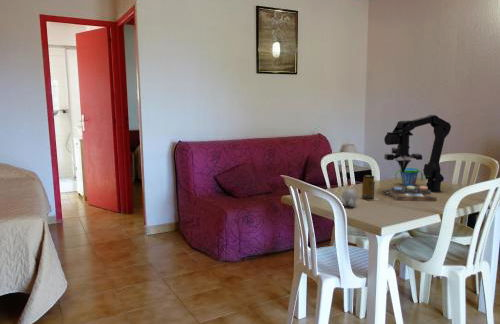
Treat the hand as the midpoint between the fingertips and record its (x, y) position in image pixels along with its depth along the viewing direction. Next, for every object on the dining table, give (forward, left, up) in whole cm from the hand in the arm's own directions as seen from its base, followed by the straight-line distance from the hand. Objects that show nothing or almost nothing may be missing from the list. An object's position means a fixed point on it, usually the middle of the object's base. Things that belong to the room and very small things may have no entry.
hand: (402, 172), depth 218 cm
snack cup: (-11, -24, -12) cm, 29 cm away
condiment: (+20, +14, -12) cm, 27 cm away
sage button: (-3, +7, -8) cm, 11 cm away
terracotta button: (-9, +7, -8) cm, 14 cm away
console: (-3, +10, -12) cm, 16 cm away
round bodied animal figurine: (+32, +31, -12) cm, 46 cm away
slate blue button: (+4, +7, -9) cm, 12 cm away
